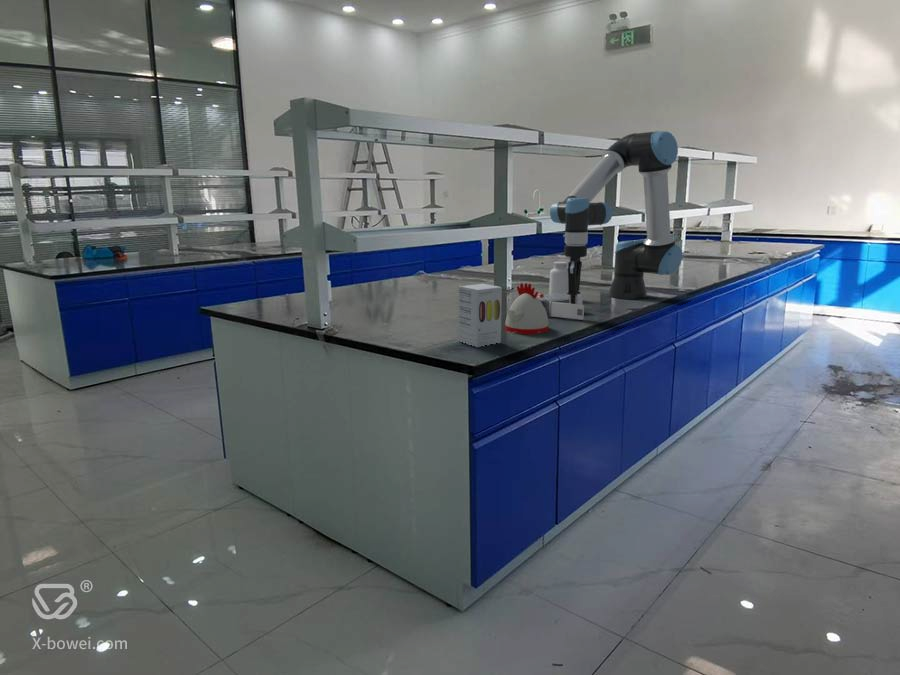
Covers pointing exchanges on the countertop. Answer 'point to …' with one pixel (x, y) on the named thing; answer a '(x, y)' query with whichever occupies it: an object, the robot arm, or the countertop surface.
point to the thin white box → (566, 310)
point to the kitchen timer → (527, 313)
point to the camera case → (556, 299)
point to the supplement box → (480, 314)
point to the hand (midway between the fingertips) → (573, 312)
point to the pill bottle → (559, 278)
